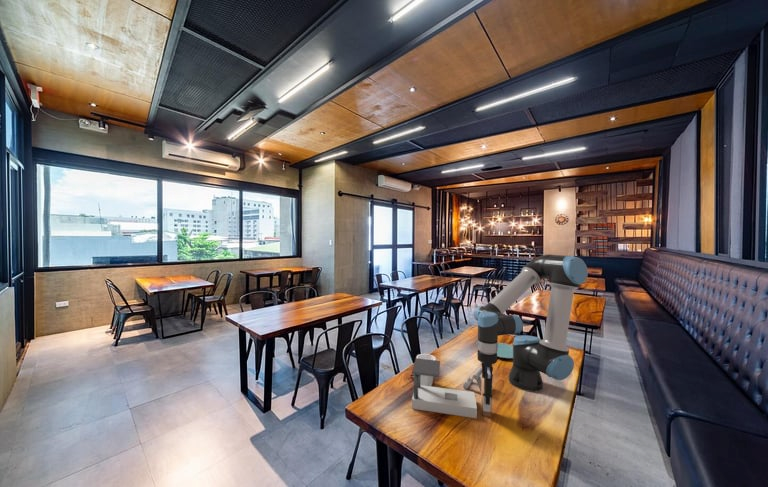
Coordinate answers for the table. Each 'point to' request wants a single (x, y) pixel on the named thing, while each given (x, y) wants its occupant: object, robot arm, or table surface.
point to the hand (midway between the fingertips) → (486, 407)
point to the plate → (505, 351)
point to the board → (445, 401)
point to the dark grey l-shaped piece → (424, 372)
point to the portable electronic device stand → (475, 376)
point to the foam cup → (424, 379)
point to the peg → (483, 402)
